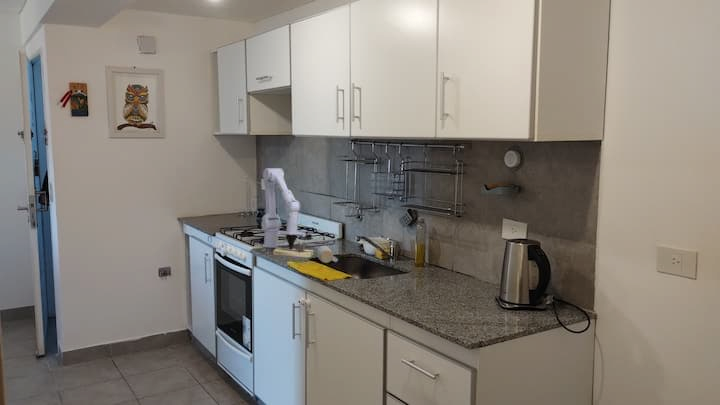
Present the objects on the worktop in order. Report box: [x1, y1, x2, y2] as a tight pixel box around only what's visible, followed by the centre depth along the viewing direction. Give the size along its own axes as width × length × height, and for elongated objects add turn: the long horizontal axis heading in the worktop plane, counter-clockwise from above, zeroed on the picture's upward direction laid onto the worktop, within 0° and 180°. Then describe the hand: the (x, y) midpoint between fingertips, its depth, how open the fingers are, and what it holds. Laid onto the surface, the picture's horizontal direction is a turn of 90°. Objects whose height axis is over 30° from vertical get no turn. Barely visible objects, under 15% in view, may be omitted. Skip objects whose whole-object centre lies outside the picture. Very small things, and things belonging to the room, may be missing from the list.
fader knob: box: [297, 242, 306, 252], centre depth 310 cm, size 4×3×4 cm
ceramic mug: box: [316, 245, 339, 264], centre depth 299 cm, size 11×8×8 cm
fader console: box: [272, 246, 314, 258], centre depth 311 cm, size 9×20×2 cm, turn 85°
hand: (291, 248), depth 311 cm, fingers closed
